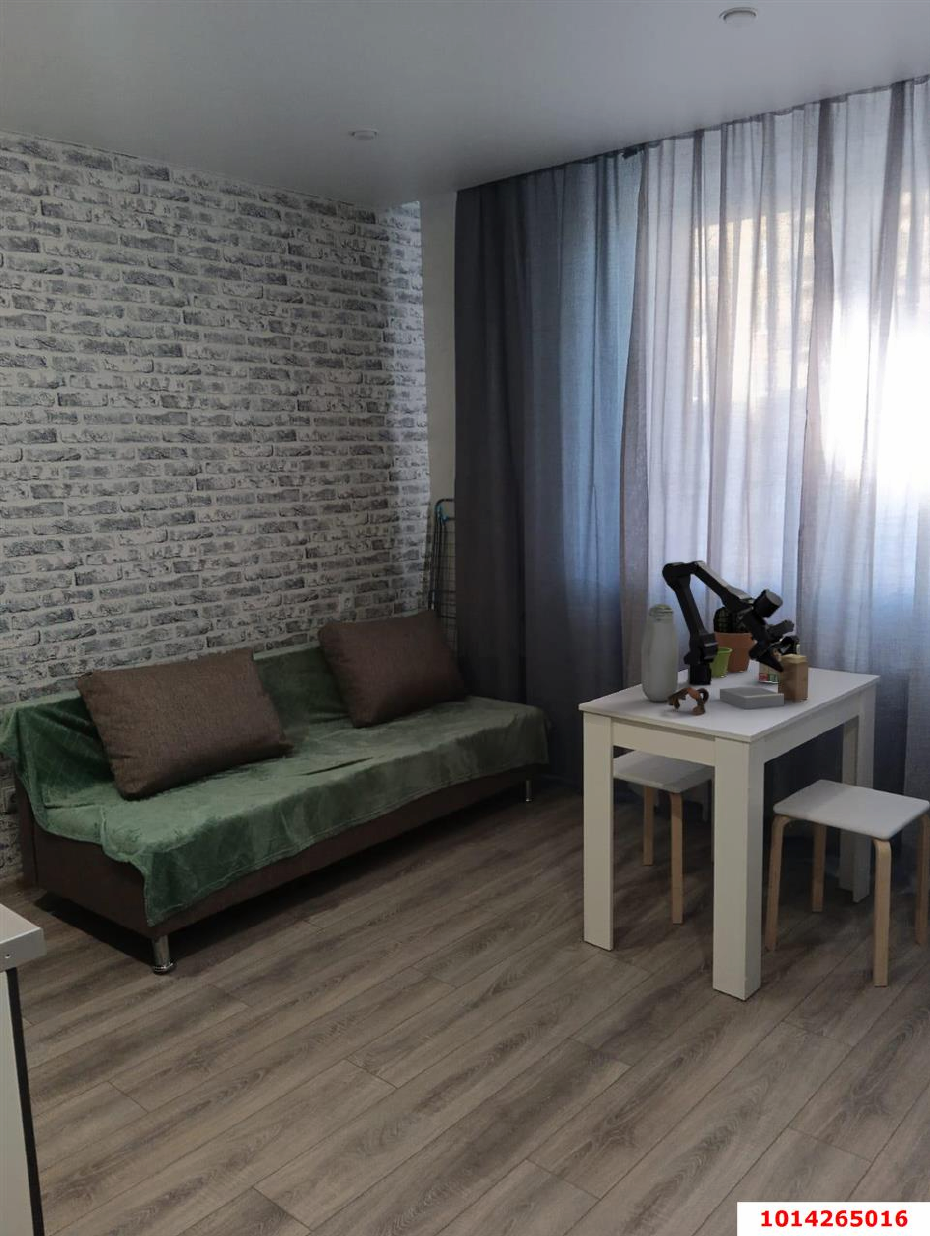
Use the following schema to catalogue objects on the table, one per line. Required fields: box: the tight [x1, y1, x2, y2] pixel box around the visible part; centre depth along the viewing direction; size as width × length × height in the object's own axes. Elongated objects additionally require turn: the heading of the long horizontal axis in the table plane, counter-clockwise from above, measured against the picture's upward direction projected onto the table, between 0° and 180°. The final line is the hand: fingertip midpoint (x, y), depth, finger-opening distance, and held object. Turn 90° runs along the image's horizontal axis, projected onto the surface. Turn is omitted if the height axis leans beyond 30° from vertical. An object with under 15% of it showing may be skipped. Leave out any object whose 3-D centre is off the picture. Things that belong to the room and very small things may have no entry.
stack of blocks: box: [758, 638, 801, 682], centre depth 332 cm, size 21×6×12 cm, turn 145°
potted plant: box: [712, 605, 756, 673], centre depth 345 cm, size 14×14×25 cm
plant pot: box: [709, 647, 732, 678], centre depth 337 cm, size 9×9×9 cm
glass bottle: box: [640, 603, 680, 703], centre depth 300 cm, size 10×10×28 cm
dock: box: [719, 685, 785, 710], centre depth 297 cm, size 14×12×3 cm
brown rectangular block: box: [777, 654, 810, 703], centre depth 300 cm, size 6×6×12 cm
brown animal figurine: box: [667, 685, 710, 716], centre depth 288 cm, size 12×10×8 cm
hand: (791, 669), depth 300 cm, fingers open, 9 cm apart
